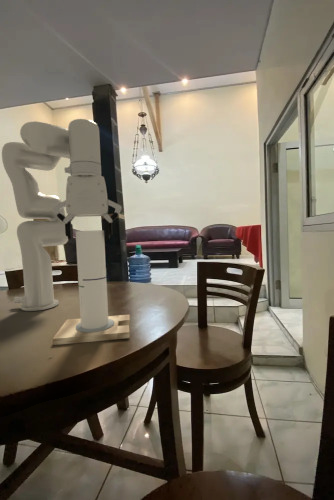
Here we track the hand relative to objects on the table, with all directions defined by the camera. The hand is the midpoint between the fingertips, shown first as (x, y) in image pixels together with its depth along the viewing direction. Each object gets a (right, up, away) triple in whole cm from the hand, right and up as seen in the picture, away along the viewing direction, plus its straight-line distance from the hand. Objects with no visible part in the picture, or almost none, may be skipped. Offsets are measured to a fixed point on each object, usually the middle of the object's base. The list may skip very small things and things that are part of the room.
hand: (89, 238), depth 68 cm
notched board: (+1, -25, +1) cm, 25 cm away
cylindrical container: (+1, -23, +2) cm, 23 cm away
